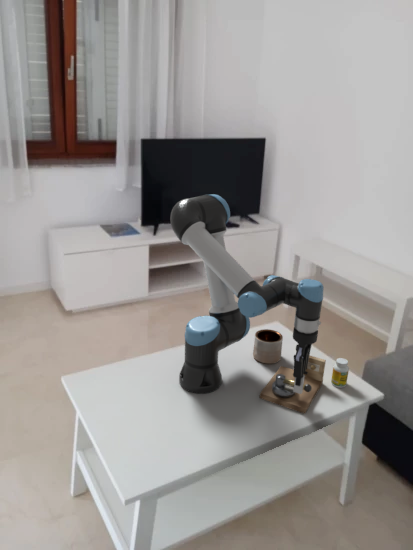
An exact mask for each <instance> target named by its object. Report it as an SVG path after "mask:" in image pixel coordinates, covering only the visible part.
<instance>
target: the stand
mask: <svg viewBox="0 0 413 550" xmlns="http://www.w3.org/2000/svg"><path fill="white" fill-rule="evenodd" d="M325 367H326V359H324V358H320V357H317V356H313V355H309V360H308V366H307V370H306V372H308V373H307V375H306V374H304V375H305V377H304V384H310V385H311V387H312V389H311V391H310V392H306V391H305V390H303V392H302V394H299V393H296V392H295V395H294V396H293V397H291V398H281V397H278V396H276V395H275V394H273V392H272V384H273V382H275V381H276V375H277V374H283V375H285V377H286V378H287V379H290V380H293V381H295V377H293V373H294V368H293V369H292V368H290V367H286V366H284V365H283V366H282V365H280V366H279V368H278V369H277V371H276V372H274V374H273V376H271V378H270V380H269V381H268V382H267V383H266V384H265V386H264V388H263V389H262V390H261V391H260V392H259V399H261V400H264V401H267V402H270V403H273V404H274V405H275V404H276V405H277V406H278V405H279V406H281V407H284V408H288V409H290V410H292V411H296V412H298V413H300V414H306V413H307V411H308V410H309V408H310V407H311V404H312V403H313V401H314V399H315V397H316V396H317V394H318V392H319V391H320V389H321V387H322V386H323V382H324V375H325Z"/></svg>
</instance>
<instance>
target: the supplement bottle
mask: <svg viewBox="0 0 413 550" xmlns="http://www.w3.org/2000/svg"><path fill="white" fill-rule="evenodd" d="M348 364H349V361H348V360H347V359H346V358H342V357H338V358H336V361H335V363H334V364H333V367H332V373H331V379H330V380H331V383H330V384H332V386H333V387H336V388H338V389H340V388H342V389H343V388H345V387H346V386H347V383H348V375H349V371H350V368H349V365H348Z"/></svg>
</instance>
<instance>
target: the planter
mask: <svg viewBox="0 0 413 550" xmlns="http://www.w3.org/2000/svg"><path fill="white" fill-rule="evenodd" d="M283 340H284V336H283V334H282V333H281V332H280V331H278V330H274V329H268V328H267V329H265V328H264V329H260V330H258V331H256V332H255V334H254V340H253V341H254V342H253V343H254V344H253V350H252V351H253V352H252V355H253V358H254V360H256V361H257V362H259V363H262V364H267V365H269V364H270V365H272V364H275V363H278V362H279V361H280V360H281V357H282V351H283V350H282V348H283Z"/></svg>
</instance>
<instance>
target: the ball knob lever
mask: <svg viewBox="0 0 413 550" xmlns="http://www.w3.org/2000/svg"><path fill="white" fill-rule="evenodd" d="M294 382H295V381H293V380H290V379H287V378H286V377H285V375H283V374H277V375H276V381H275V382H273V384H272V392H273V394H275V395H276V396H278V397H281V398H291V397H293V396H294V395H295V392H293V390H294ZM311 389H312V387H311V385H310V384H303V390H305V391H306V392H310V391H311Z"/></svg>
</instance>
